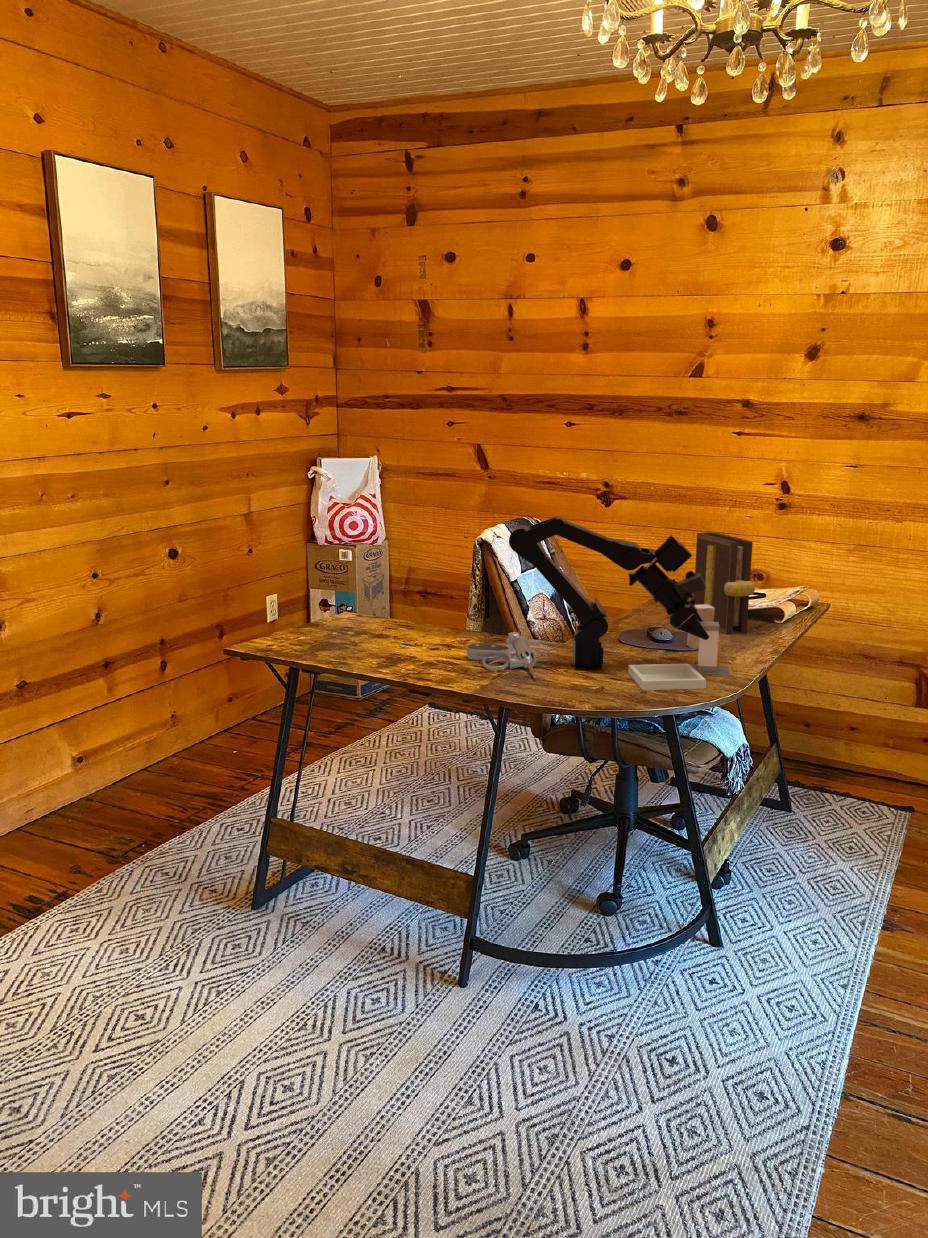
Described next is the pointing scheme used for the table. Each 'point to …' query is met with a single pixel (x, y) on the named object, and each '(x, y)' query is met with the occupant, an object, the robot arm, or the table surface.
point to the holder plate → (720, 671)
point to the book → (725, 578)
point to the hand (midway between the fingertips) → (706, 633)
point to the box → (707, 616)
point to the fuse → (708, 648)
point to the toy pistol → (505, 653)
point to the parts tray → (666, 677)
